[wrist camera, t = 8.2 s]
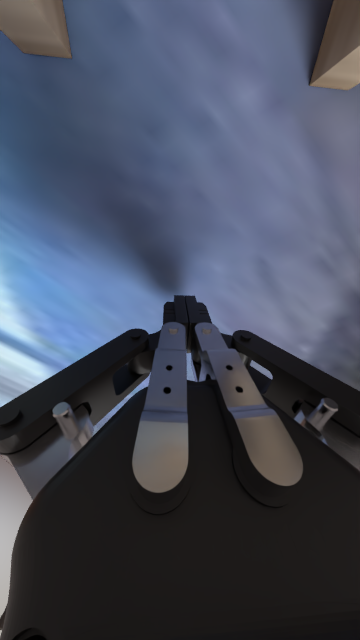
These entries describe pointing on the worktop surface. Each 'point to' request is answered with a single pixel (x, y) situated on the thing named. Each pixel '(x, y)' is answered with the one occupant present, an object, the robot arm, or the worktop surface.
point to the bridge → (52, 40)
